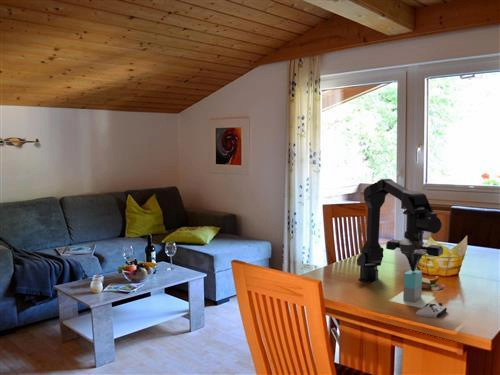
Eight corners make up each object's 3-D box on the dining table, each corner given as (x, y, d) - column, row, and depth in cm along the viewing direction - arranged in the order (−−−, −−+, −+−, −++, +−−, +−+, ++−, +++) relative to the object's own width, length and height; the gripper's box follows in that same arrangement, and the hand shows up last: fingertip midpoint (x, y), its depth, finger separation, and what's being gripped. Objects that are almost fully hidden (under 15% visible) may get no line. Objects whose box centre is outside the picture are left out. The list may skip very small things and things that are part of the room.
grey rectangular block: (403, 300, 170) (403, 286, 169) (410, 295, 175) (410, 282, 174) (414, 302, 167) (414, 289, 167) (421, 297, 172) (421, 284, 172)
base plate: (388, 303, 170) (388, 300, 169) (403, 293, 180) (403, 290, 180) (422, 310, 162) (422, 308, 162) (435, 300, 173) (435, 297, 173)
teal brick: (403, 286, 169) (404, 273, 169) (410, 282, 175) (411, 269, 174) (414, 289, 167) (415, 275, 166) (421, 284, 172) (422, 270, 172)
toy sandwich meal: (445, 296, 177) (445, 284, 177) (407, 292, 182) (407, 280, 182) (445, 287, 189) (445, 275, 188) (409, 283, 194) (409, 272, 194)
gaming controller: (424, 305, 165) (440, 294, 162) (437, 320, 163) (453, 309, 159) (413, 314, 157) (428, 303, 153) (425, 330, 154) (442, 319, 151)
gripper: (380, 228, 168) (379, 271, 170) (433, 235, 156) (432, 281, 158) (392, 224, 177) (391, 265, 178) (444, 230, 165) (442, 273, 167)
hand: (413, 271), depth 170 cm, fingers closed
